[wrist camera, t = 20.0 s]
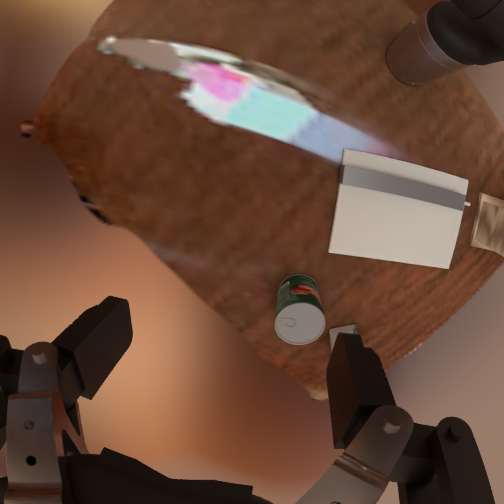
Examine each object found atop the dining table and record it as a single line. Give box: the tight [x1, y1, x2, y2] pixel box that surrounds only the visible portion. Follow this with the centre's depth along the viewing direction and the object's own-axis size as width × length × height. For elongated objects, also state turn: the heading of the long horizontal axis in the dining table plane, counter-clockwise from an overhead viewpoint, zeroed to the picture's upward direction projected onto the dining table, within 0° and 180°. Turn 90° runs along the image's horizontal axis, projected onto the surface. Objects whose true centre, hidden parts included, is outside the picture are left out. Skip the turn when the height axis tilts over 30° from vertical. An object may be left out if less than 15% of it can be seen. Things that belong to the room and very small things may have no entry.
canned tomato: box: [275, 274, 325, 345], centre depth 48 cm, size 8×8×11 cm
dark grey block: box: [339, 165, 470, 211], centre depth 42 cm, size 3×26×3 cm
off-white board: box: [328, 149, 468, 269], centre depth 46 cm, size 18×26×1 cm
